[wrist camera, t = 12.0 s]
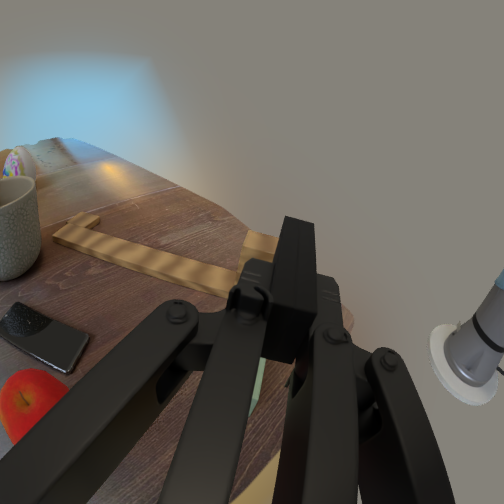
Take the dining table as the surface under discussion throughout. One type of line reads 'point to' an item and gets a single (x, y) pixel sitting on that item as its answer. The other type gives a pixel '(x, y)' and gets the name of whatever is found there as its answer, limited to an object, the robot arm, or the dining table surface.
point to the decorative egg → (19, 164)
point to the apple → (28, 400)
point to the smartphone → (43, 337)
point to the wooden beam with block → (162, 256)
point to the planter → (18, 226)
